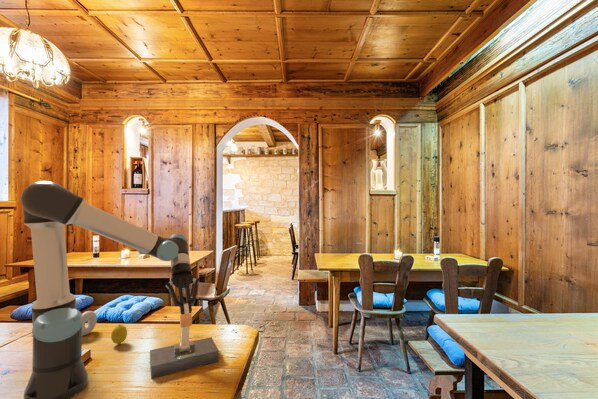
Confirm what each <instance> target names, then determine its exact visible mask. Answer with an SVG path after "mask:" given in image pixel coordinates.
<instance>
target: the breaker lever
mask: <svg viewBox="0 0 598 399" xmlns="http://www.w3.org/2000/svg"><path fill="white" fill-rule="evenodd" d="M192 322H193V316H192V313H189V314H185V315H184V314H183V315H181V314H180V315H179V326H180V329H181V331H180V332H181V335H180V343H181V344H180V351H182V350H186V349H189V341H190V340H189V339H190V327H192V326H193V323H192Z"/></svg>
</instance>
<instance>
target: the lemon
mask: <svg viewBox="0 0 598 399" xmlns="http://www.w3.org/2000/svg"><path fill="white" fill-rule="evenodd" d="M127 329H128V328H127V327H126V326H125V325H123V324H118V325H116V326H115V327H113V329H112V331H111V336H110V339H111V341H112V343H114V344H116V345H121V344H122V343H123V342H125V340H126V339H127V335H128V330H127Z"/></svg>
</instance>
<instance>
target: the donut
mask: <svg viewBox="0 0 598 399" xmlns="http://www.w3.org/2000/svg"><path fill="white" fill-rule="evenodd" d="M81 314H82V319H83V323H82V337H84V336H86V335H89V334H90V333H91V332H92V331H93V330H94V329H95V327H96V325H97V323H98V318H97V317H98V316H97V314H96V312H94V311H92V310H87V311H84V312H83V313H81Z"/></svg>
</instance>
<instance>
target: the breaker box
mask: <svg viewBox="0 0 598 399" xmlns="http://www.w3.org/2000/svg"><path fill="white" fill-rule="evenodd" d="M180 344H181V342H180V343H175V344H172V345H168V346H164V347H159V348H154V349H150V350H149V365H150V378H151V379H157V378H161V377H164V376H168V375H172V374H176V373H180V372H183V371H187V370H190V369H195V368H198V367H202V366H208V365H210V364H214V363H218V362H219V361H220V360H219V358H220V356H219V348H218V347H217V345H216V343H215V342H214V339H213V337H212V336H211V337H205V338H201V339H200V338H199V339H197V340H192V341H191V340H189V349H186V350H182V351H180Z"/></svg>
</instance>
